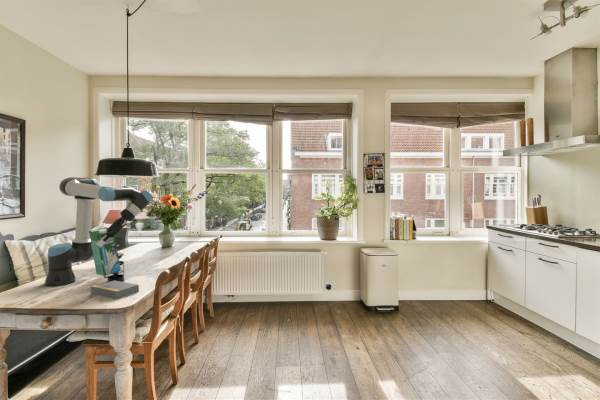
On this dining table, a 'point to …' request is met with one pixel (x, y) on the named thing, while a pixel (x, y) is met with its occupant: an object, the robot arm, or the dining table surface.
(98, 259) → the milk carton
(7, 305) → the dining table surface
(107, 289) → the plate
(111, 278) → the french press
